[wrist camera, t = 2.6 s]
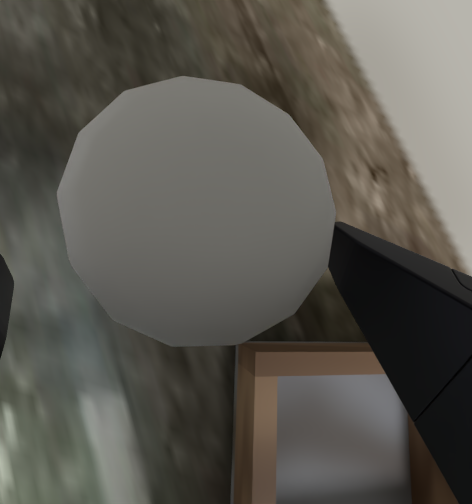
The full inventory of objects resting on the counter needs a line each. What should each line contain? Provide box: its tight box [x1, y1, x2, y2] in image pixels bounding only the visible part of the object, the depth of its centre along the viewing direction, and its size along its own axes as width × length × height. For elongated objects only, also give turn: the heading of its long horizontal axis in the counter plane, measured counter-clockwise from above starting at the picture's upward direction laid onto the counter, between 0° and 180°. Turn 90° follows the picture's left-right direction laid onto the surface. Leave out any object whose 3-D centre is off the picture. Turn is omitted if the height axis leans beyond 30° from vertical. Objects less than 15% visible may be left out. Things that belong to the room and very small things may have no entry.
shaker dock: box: [230, 341, 459, 504], centre depth 16 cm, size 11×11×4 cm
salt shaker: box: [56, 76, 336, 347], centre depth 10 cm, size 6×6×13 cm
